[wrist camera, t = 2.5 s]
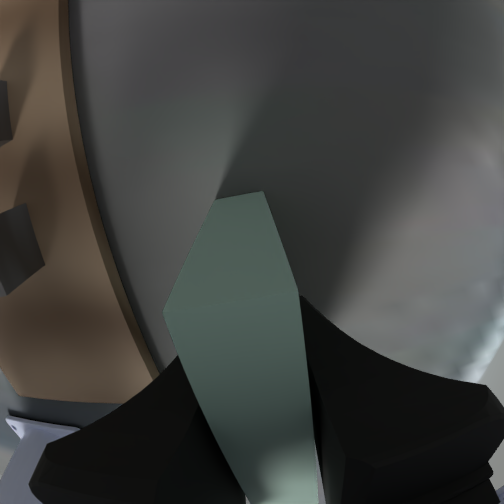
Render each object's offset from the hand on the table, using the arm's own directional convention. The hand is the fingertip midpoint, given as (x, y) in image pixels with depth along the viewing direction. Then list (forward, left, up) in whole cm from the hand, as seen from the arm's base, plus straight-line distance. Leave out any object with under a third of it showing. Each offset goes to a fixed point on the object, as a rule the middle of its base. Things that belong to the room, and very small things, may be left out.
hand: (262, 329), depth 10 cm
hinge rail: (+7, +10, -2) cm, 12 cm away
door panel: (0, 0, -2) cm, 2 cm away
